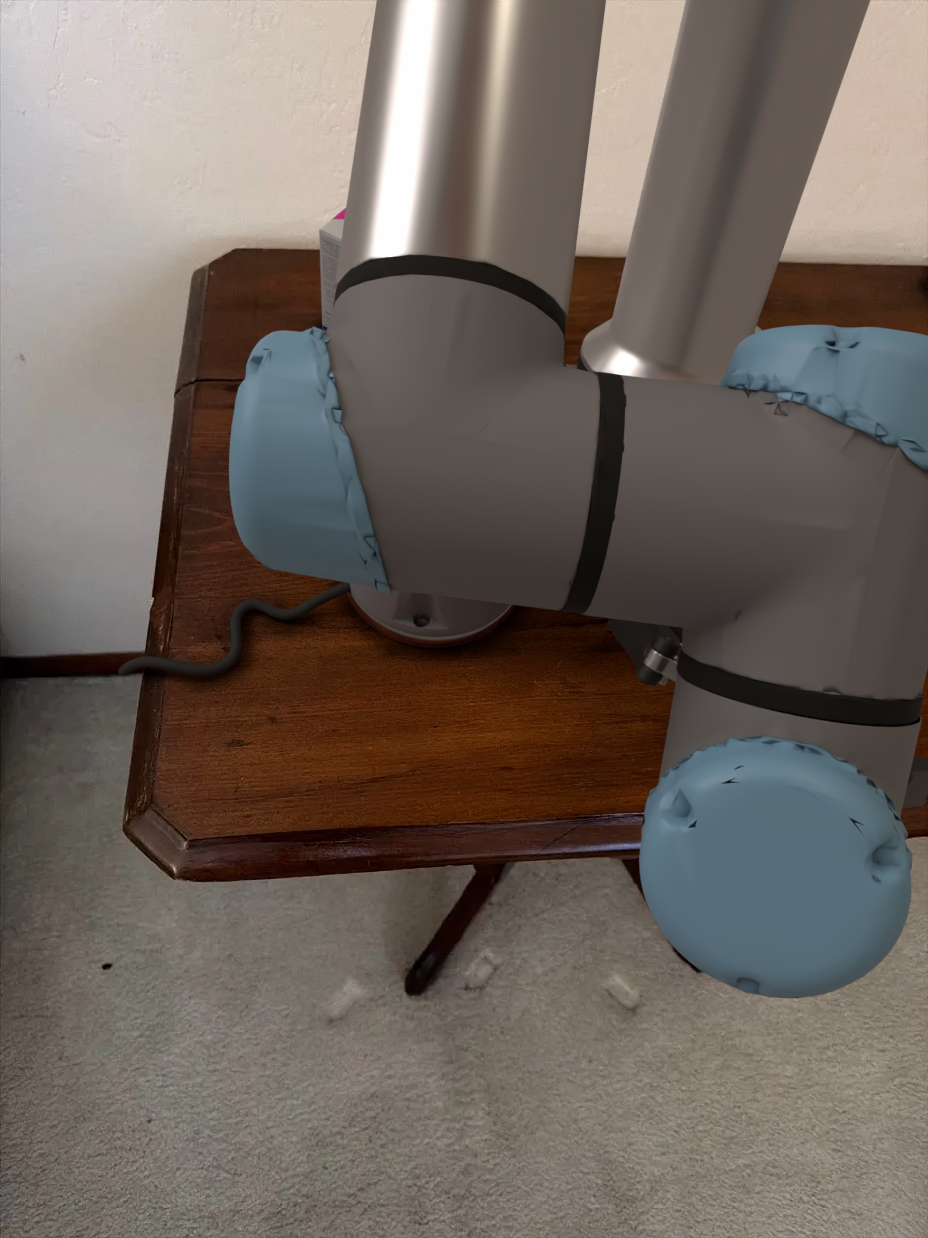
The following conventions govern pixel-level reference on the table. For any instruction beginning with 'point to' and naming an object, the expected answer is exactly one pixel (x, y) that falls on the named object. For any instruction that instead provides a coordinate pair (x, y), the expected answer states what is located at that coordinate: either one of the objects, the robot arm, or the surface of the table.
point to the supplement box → (329, 262)
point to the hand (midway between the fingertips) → (768, 670)
